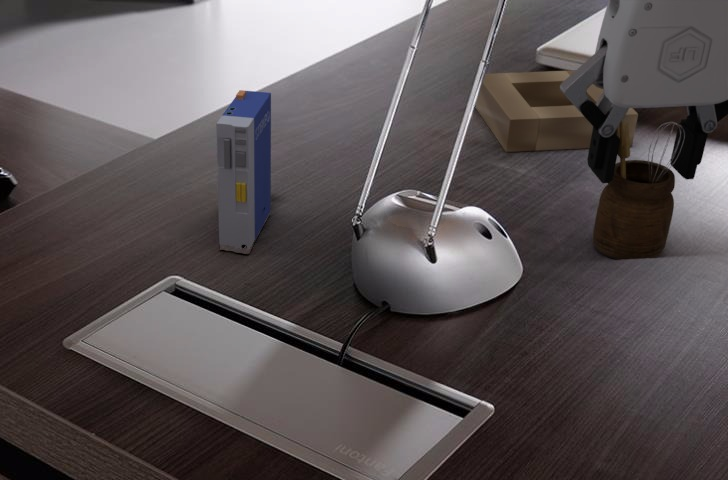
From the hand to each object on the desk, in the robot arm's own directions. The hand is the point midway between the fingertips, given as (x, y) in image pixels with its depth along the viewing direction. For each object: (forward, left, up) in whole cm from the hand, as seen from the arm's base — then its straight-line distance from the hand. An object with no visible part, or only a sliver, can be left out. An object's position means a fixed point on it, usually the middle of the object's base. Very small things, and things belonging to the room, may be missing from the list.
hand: (641, 172), depth 89 cm
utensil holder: (0, 0, -7) cm, 7 cm away
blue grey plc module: (+32, -6, -7) cm, 33 cm away
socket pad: (-2, -27, -7) cm, 28 cm away
